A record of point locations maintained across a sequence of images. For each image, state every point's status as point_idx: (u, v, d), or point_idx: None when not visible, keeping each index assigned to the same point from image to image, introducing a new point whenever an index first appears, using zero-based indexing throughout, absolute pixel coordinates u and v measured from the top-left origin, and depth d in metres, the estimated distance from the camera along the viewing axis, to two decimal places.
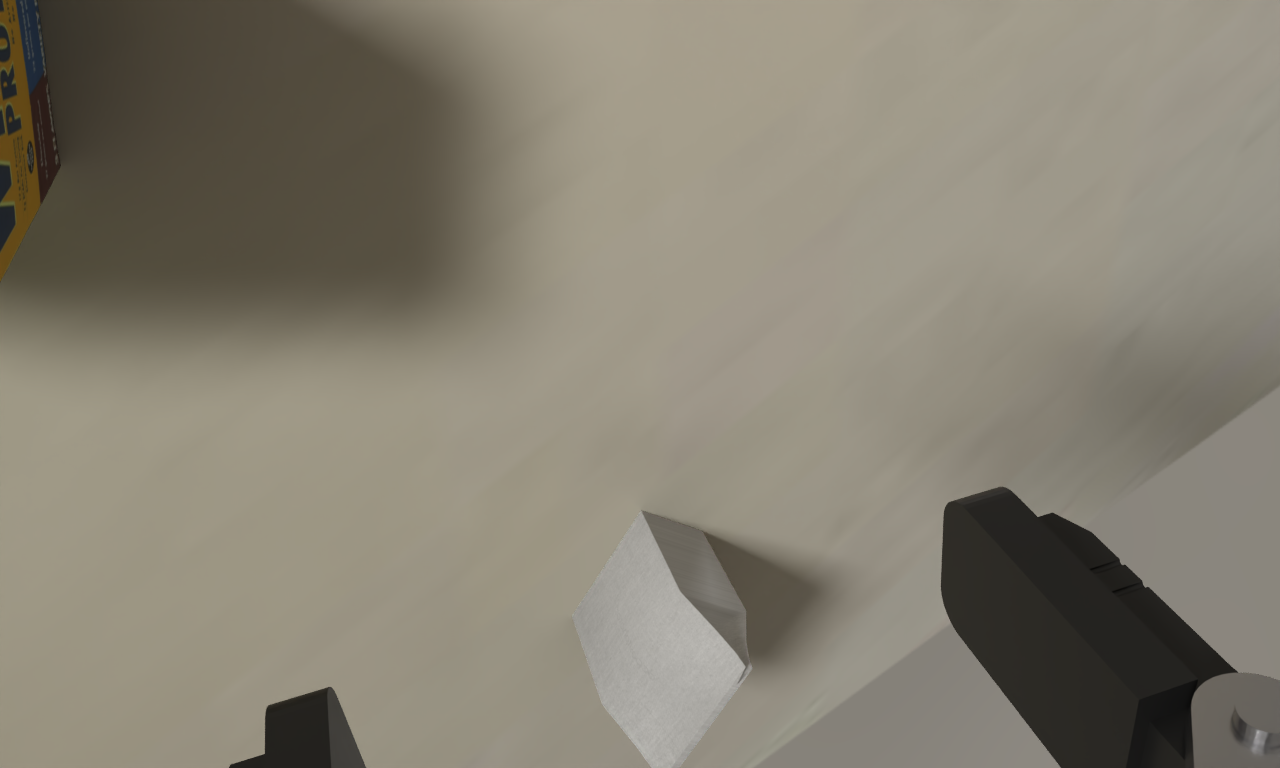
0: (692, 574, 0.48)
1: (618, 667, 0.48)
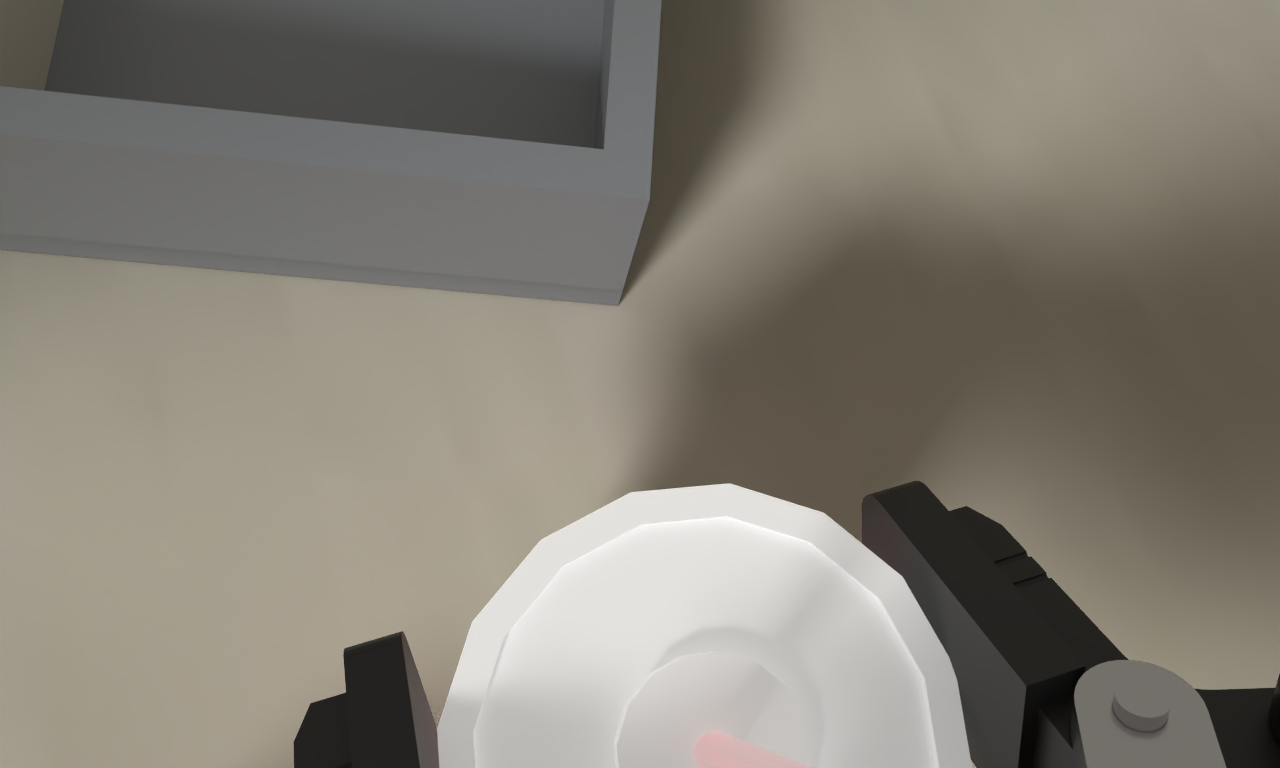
0: None
1: None
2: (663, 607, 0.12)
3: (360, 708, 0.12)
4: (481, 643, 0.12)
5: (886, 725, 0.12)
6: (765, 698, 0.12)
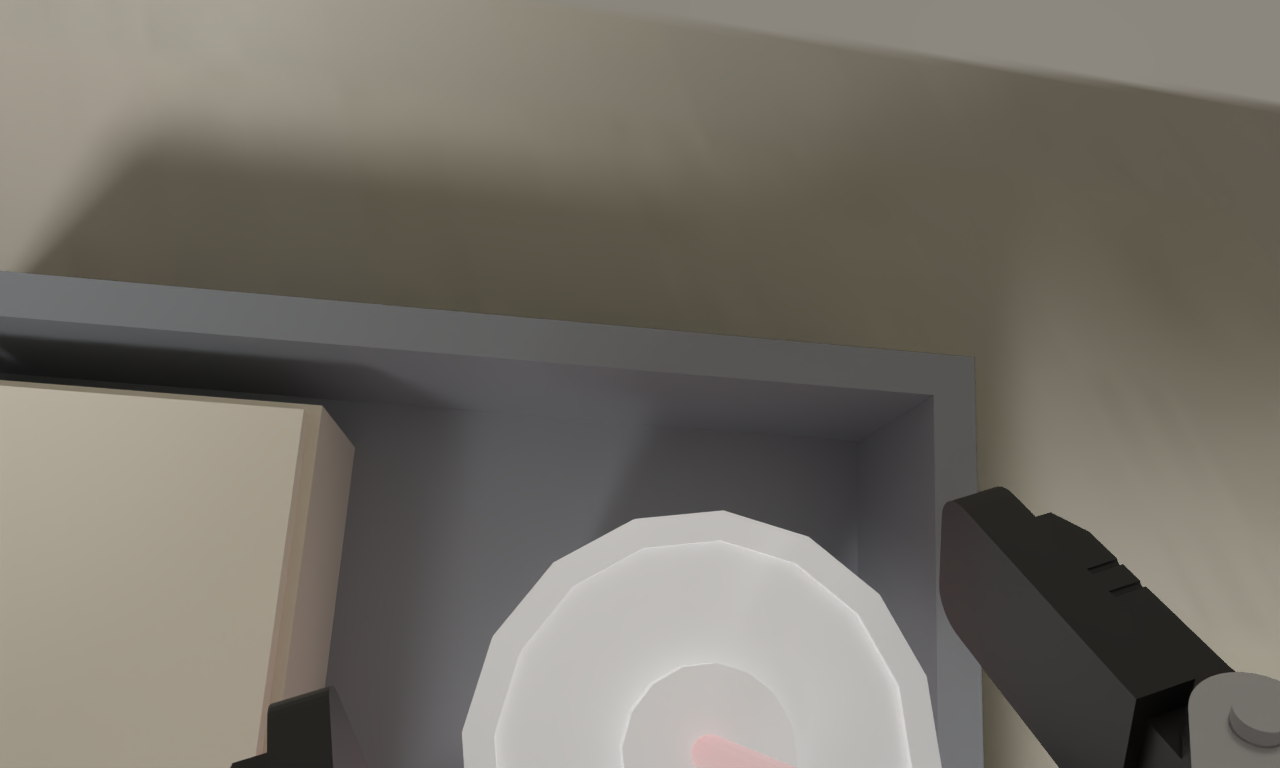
0: None
1: None
2: (663, 623, 0.14)
3: None
4: (501, 655, 0.13)
5: (864, 728, 0.14)
6: (755, 704, 0.13)
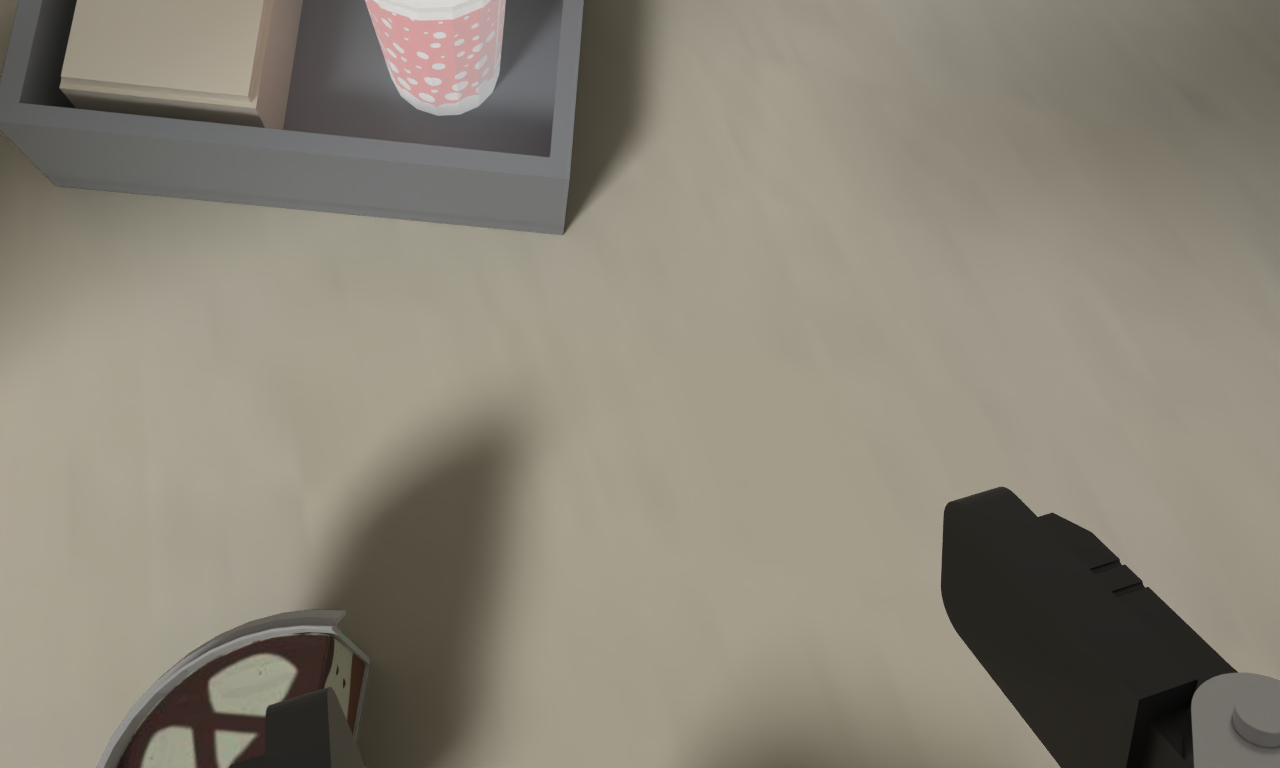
0: None
1: None
2: None
3: None
4: None
5: None
6: None
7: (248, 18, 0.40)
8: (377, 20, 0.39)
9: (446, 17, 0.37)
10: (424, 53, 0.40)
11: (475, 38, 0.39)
